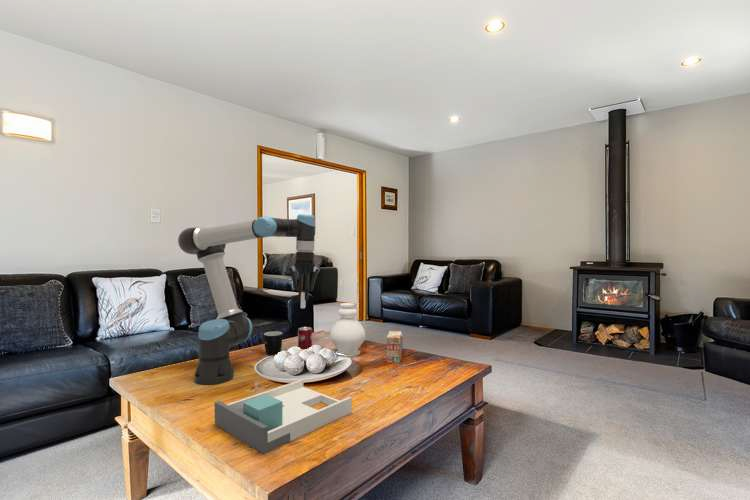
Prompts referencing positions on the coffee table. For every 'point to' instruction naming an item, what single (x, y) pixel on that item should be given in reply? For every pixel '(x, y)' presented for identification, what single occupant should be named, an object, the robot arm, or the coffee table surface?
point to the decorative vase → (347, 331)
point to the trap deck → (294, 416)
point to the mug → (273, 342)
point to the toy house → (394, 346)
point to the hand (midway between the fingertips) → (303, 307)
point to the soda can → (304, 337)
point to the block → (265, 411)
